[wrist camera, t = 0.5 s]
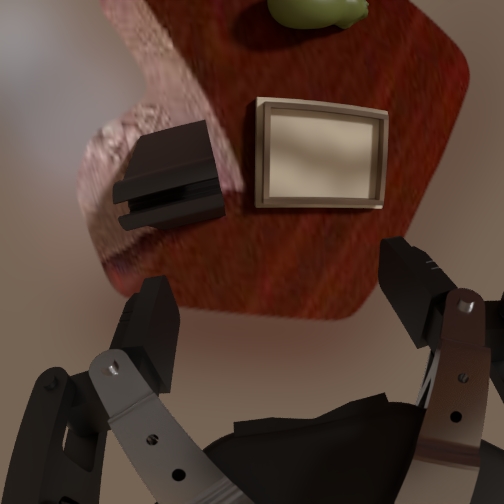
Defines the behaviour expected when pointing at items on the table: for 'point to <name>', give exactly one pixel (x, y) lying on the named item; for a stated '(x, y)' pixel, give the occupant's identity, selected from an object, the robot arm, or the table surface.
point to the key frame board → (319, 154)
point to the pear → (317, 13)
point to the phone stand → (171, 180)
